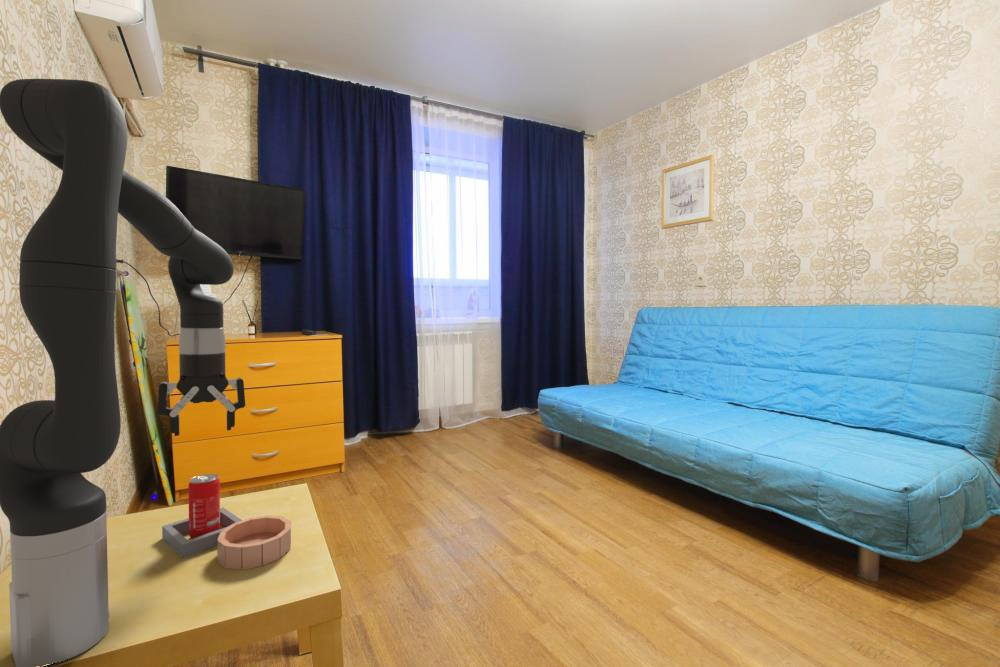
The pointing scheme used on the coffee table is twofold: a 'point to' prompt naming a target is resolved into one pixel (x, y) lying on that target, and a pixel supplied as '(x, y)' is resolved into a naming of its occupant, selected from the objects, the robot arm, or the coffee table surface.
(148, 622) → the coffee table surface
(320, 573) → the coffee table surface
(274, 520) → the bowl
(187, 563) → the coffee table surface
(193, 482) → the beverage can
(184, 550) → the rectangular frame
